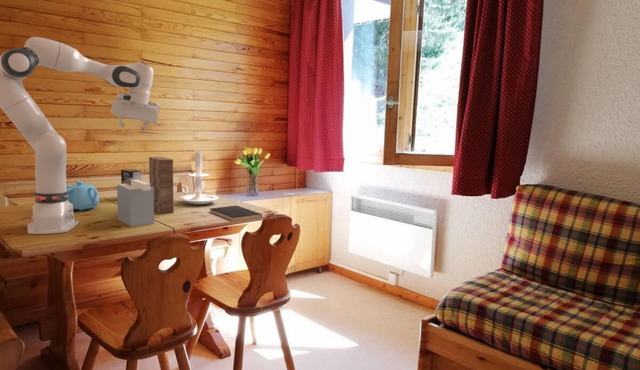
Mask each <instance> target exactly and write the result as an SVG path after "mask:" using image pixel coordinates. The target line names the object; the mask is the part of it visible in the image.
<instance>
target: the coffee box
mask: <svg viewBox="0 0 640 370" xmlns="http://www.w3.org/2000/svg"><path fill="white" fill-rule="evenodd" d="M127 178H134V179H137V180H140V181H142V170H138V169H132V168H130V169H121V170H120V179H121V180H120V182H121V183H120V184H127Z"/></svg>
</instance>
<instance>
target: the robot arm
mask: <svg viewBox="0 0 640 370" xmlns="http://www.w3.org/2000/svg"><path fill="white" fill-rule="evenodd" d="M37 66H41V67H46V68H49V69H52V70H56V71H59V72H65V73H83V74H84V73H85V74H88V75H90V76H91V75H92V76H94V77H98V78H101V79H102V80H104V81H105V82H107V83H108V84H109V85H111V86H113V87H118V88H129V90H128V92H122V93H117V94H116V99H114V100H113V103H112V104H111V105H112V106H111V108H110V113H111V114H112V115H113V116H118V121H119V127H121V128H124V127H125V123H124V122H123V120H124V118H127V119H131V120H136V121H142V122H144V123H143V124H144V125H143V126H140V132H146V128H147V127H148V126H149V125H150V123H151V124H158V120H159V112H160V110H161V107H160V105H159V104H158V103H156V102H151V101H150V97H151V89H152V86H153V82H154V69H153V67H152V66H150V65H149V64H147V63H145V62H142V61H136V62H134V63H129V64H119V63H111V64H106V63H103V62H99V61H96V60H93V59H90V58H87V57H85V56H84V55H83V54H82V53H80V52H79V51H78V49H76V48H74V47H73V46H70V45H67V44H65V43H62V42H60V41H57V40H54V39H49V38H45V37H39V36H31V37H29V38H28V39H27V40H26V41H25V43H24V46H23V47H22V46H21V47H17V48H15V47H14V48H11V49H8V50H7V51H4V52H3V53H1V55H0V109H1V110H2V111H3V112H4V114H5V115H6V116H7V118H8V119H9V120H10V121H11V122H12V124H13V125H14V126H15V128H16V129H17V130H18V132H19V133H20V134H21V135H22V137H23V138H24V139H25V140H26V142H27V143H28V144H29V146H31V148H32V150H33V151H34V160H35V161H34V162H35V163H34V165H35V166H34V169H35V170H34V172H35V173H34V175H35V191H36V192H35V193H34V201H35V203H34V204H33V205H32V216H30V220H31V221H33V222H28V223H27V224H26V225H27V227H26V228H27V234H28V235H49V234H61V233H66V232H69V231H70V230H72V229H73V228H74V227H76V226H78V225H79V220H75V218H74V217H75V216H74V209H73V205H72V204H71V203H70V202H69V201H68V191H67V186H66V185H67V142H66V140H65V139H64V137H63V136H61V135H60V134H58V132H57V130H55V129H54V127H53V125H52V124H51V123H50V121H49V120H48V118H47V117H46V115H45V114H44V113H43V111H42V110H41V109H40V107H39V106H38V104H37V103H36V102H35V100H34V99H33V98H32V96H30V95H31V94H29V92H28V91H27V90H26V89H25V87H24V85H23V80H24V79H27V78H28V77H29V76H30V75H31V74H33V72H34V71H35V69H36V67H37Z"/></svg>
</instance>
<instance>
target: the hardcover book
mask: <svg viewBox="0 0 640 370" xmlns="http://www.w3.org/2000/svg"><path fill="white" fill-rule="evenodd" d="M209 210H210V211H209V212H210V213H213V214H214V213H215V215H217V216H220V217H223V218H225V219H227V220H230V221H233V222H234V221H242V220H249V219H257V218H262V216H263V215H262V213H261V212H260V213H259V212H257V211H254V210H252V209H249V208H245V207H243V206H240V205H229V206H222V207H220V206H219V207H211V208H209Z"/></svg>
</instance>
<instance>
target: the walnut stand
mask: <svg viewBox="0 0 640 370" xmlns="http://www.w3.org/2000/svg"><path fill="white" fill-rule="evenodd" d="M148 164H149V165H148V166H149V168H148V170H149V176H148V177H149V184H150V187H152V188H153V193H154V213H155V212H156V213H157V214H160V215H166V214H173V213H174V210H175V209H174V159H172V158H168V157H163V156H151V157H148Z"/></svg>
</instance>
